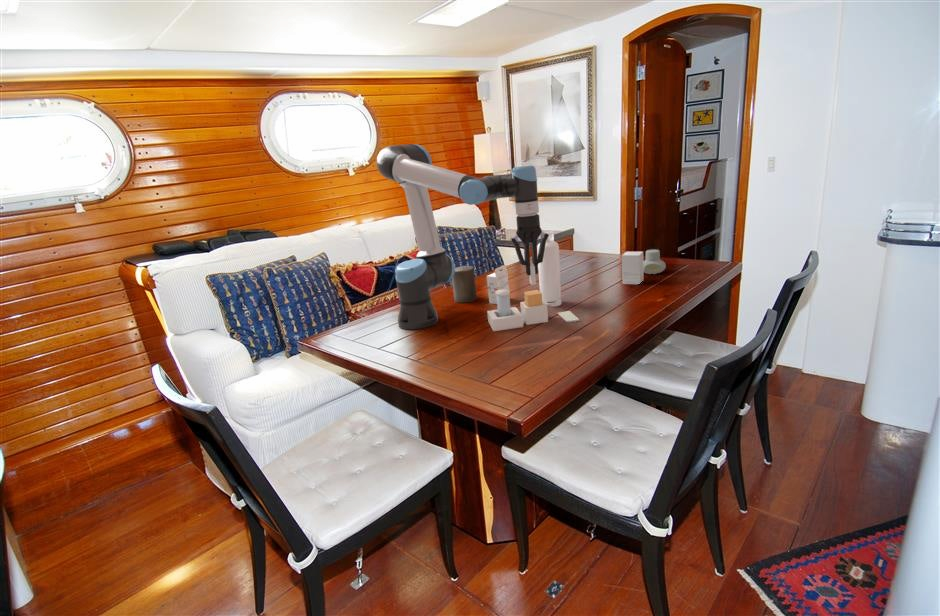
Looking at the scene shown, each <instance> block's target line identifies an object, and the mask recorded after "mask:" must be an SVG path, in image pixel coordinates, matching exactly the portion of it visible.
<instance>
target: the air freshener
mask: <svg viewBox="0 0 940 616" xmlns="http://www.w3.org/2000/svg"><path fill="white" fill-rule="evenodd" d="M660 252H661V251H660V250H659V249H647V250H646V251H645V260H644V259H643V263H644V264H643V265H644V266H643V267H644V273H645V274H648V275H651V274H653V275H657V273H658V274H660V273H662V272H664V271H665V270H666V268H667V267H666V263H665V262H664V260H662V259H661V253H660Z"/></svg>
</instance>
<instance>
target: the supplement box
mask: <svg viewBox="0 0 940 616" xmlns="http://www.w3.org/2000/svg"><path fill="white" fill-rule="evenodd" d="M643 261H644V251H625V252H624V253H623V254H622V255H621V271H622V272H621V275H622V278H621V279H622V284H623V285H638V284H640V283H641V282H642V281H643V282H644V267H643V266H644V265H643V264H644V263H643ZM643 282H642V283H643ZM642 283H641V284H642ZM641 284H640V285H641Z"/></svg>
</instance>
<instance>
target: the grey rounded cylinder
mask: <svg viewBox="0 0 940 616" xmlns="http://www.w3.org/2000/svg"><path fill="white" fill-rule="evenodd" d="M510 294H511V290H510V289H509V290H508V289H501V290H497V291H496V295H497V304H496V305H497V309H498V317H503V316H510V315H511V309H510V308H511V299H510V297H509V296H510Z"/></svg>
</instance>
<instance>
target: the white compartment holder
mask: <svg viewBox="0 0 940 616" xmlns="http://www.w3.org/2000/svg"><path fill="white" fill-rule="evenodd" d="M519 304H520V310H519V309H518V308H517V307H516V306H514V307H513V306H512V307H511V306H510V309H511V315H510V316H503V317H498V308H497V309H492V310H487V311H486V312H487V313H486V314H487V320H488V321H487V322H488V324H489V325H490V327H491V329H492V331H493V332H498V331H504V330H510V329H511V330H512V329H517V328H518V329H519V328H524V324H526V325H527V326H528V325H535V324H541V323H542V324H543V323H549V315H548V314H549V312H548V305H547V304H546V303H545V302H543V301H542V305H538V306H531V307H527V306H526V305H525V300H524V301H520V302H519Z"/></svg>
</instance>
